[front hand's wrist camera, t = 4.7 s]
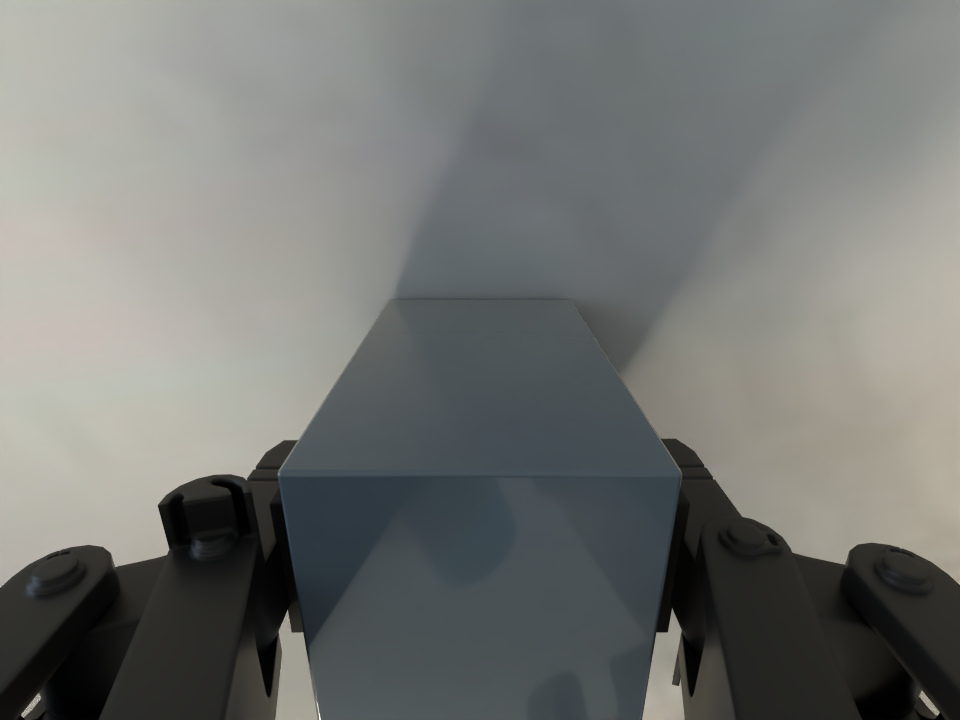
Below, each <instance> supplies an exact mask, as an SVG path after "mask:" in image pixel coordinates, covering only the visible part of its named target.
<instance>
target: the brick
mask: <svg viewBox="0 0 960 720" xmlns="http://www.w3.org/2000/svg"><path fill="white" fill-rule="evenodd" d="M681 480H682V472H681V470H680V468H679V467H678V465H677V464H676V462H675V460H674V459H673V457H672V456H671V454H670V453H669V451H668V450H667V448H666V446H665V445H664V443H663V442H662V440H661V439H660V437H659V436H658V434H657V433H656V431H655V429H654V428H653V426H652V425H651V423H650V422H649V420H648V419H647V417H646V415H645V414H644V412H643V411H642V409H641V408H640V406H639V405H638V403H637V402H636V400H635V398H634V397H633V395H632V394H631V392H630V391H629V389H628V388H627V386H626V384H625V383H624V381H623V380H622V378H621V377H620V375H619V374H618V372H617V370H616V369H615V367H614V366H613V364H612V363H611V361H610V360H609V358H608V357H607V355H606V353H605V352H604V350H603V349H602V347H601V346H600V344H599V343H598V341H597V339H596V338H595V336H594V335H593V333H592V332H591V330H590V329H589V327H588V325H587V324H586V322H585V321H584V319H583V318H582V316H581V315H580V313H579V312H578V310H577V308H576V307H575V305H574V304H573V302H572V301H571V300H569V299H390V300H389V301H388V302H387V304H386V305H385V307H384V308H383V310H382V311H381V313H380V314H379V316H378V318H377V319H376V321H375V322H374V324H373V325H372V327H371V328H370V330H369V332H368V333H367V335H366V336H365V338H364V339H363V341H362V342H361V344H360V345H359V347H358V349H357V350H356V352H355V353H354V355H353V356H352V358H351V359H350V361H349V362H348V364H347V366H346V367H345V369H344V370H343V372H342V373H341V375H340V376H339V378H338V380H337V381H336V383H335V384H334V386H333V387H332V389H331V390H330V392H329V393H328V395H327V397H326V398H325V400H324V401H323V403H322V404H321V406H320V407H319V409H318V410H317V412H316V414H315V415H314V417H313V418H312V420H311V421H310V423H309V424H308V426H307V428H306V429H305V431H304V432H303V434H302V435H301V437H300V438H299V440H298V441H297V443H296V445H295V446H294V448H293V449H292V451H291V452H290V454H289V455H288V457H287V458H286V460H285V462H284V463H283V465H282V466H281V468H280V469H279V471H278V481H279V487H280V493H281V499H282V505H283V511H284V518H285V524H286V530H287V536H288V542H289V548H290V554H291V560H292V566H293V572H294V578H295V584H296V590H297V596H298V602H299V608H300V614H301V620H302V626H303V632H304V638H305V644H306V650H307V657H308V663H309V669H310V675H311V681H312V687H313V693H314V699H315V705H316V711H317V717H318V720H642V716H643V710H644V704H645V697H646V691H647V685H648V679H649V673H650V667H651V661H652V655H653V649H654V643H655V637H656V631H657V625H658V619H659V613H660V607H661V601H662V595H663V589H664V583H665V576H666V570H667V564H668V558H669V552H670V546H671V540H672V534H673V528H674V522H675V516H676V510H677V504H678V498H679V492H680V486H681Z"/></svg>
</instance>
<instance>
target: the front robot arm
mask: <svg viewBox="0 0 960 720" xmlns="http://www.w3.org/2000/svg"><path fill="white" fill-rule="evenodd" d="M661 440H662V442H663V443H664V445H665V446H666V448H667V450H668V451H669V453H670V454H671V456H672V457H673V459H674V460H675V462H676V464H677V465H678V467H679V468H680V470H681V472H682V480H681V486H680V492H679V498H678V504H677V510H676V516H675V522H674V528H673V534H672V540H671V546H670V552H669V558H668V564H667V570H666V576H665V583H664V589H663V595H662V601H661V607H660V613H659V619H658V625H657V631H656V632H668V628H669V622H670V616H671V611H672V608H673V611H674V613H675V615H676V618H677V620H678V622H679V625H680V627H681V629H682V632H681V638H680V643H679V648H678V654H677V659H676V664H675V669H674V675H673V682H672V685H677V686H679V683H680V678H681V685H682V695H683V705H684V715H685V720H960V585H959V584H958V583H957V582H956V581H955V580H954V579H953V578H951V577H950V576H949V575H948V574H947V573H945V572H944V571H943V570H941V569H940V568H939V567H937V566H936V565H935V564H933V563H932V562H930V561H928V560H926V559H924V558H922V557H920V556H918V555H916V554H914V553H913V552H910V551H908V550H905V549H900V548H899V547H895V546H891V545H885V544H877V543H866V544H859V545H857V546H855V547H854V548H853V549H851V550H850V551H849V555H848V558H847V561H846V564H845V565H843V564H838V563H834V562H829V561H824V560H820V559H815V558H810V557H806V556H802V555H799V554H795V553H792V551H791V548H790V547H789V546H788V544H787V543H786V541H785V540H784V539H783V537H781V536H780V535H779V534H778V533H776V532H775V531H774V530H772V529H771V528H770V527H768V526H766V525H764V524H761V523H759V522H757V521H755V520H752V519H748V518H745V517H742V516H741V515H740V513H739V512H738V511H737V509H736V508H735V507H734V505H733V504H732V502H731V501H730V500H729V498H728V497H727V496H726V494H725V493H724V491H723V490H722V489H721V487H720V486H719V485H718V483H717V482H716V481H715V480H713V476H712V475H711V474H710V472H709V471H708V470H707V468H704V464H703V463H702V461H701V460H700V459H699V457H698V456H697V455H696V453H695V452H694V451H693V450H692V449H690V448H689V447H687V446H686V445H684V444H683V443H681V442H680V441H678V440H677V439H661ZM297 441H298V440H284V441H283V442H281V443H280V444H278V445H277V446H275V447H274V448H272V449H271V450H269V451H268V452H266V453H265V455H264V456H263V458H262V459H261V460H260V462H259V463H258V464H257V466H256V470H253V471H252V473H251V474H250V475H249V477H248V478H247V480H246V479H244V478H243V477H239V476H235V475H231V474H229V475H212V476H208V477H203V478H199V479H196V480H193V481H191V482H188V483H186V484H183V485H181V486H179V487H178V488H176V489H175V490H173V491H172V492H170V493H169V494H167V495H166V496H165V497H164V498H163V500H162V501H161V502H160V503H159V505H158V508H159V512H160V515H161V519H162V523H163V527H164V530H165V534H166V538H167V541H168V545H169V552H168V554H167V555H166V556H162V557H159V558H155V559H150V560H146V561H141V562H137V563H132V564H127V565H123V566H118V567H115V565H114V562H113V559H112V556H111V553H110V552H108V551H107V550H106V549H105V548H103V547H99V546H92V545H85V546H78V547H70V548H67V549H63V550H61V551H57V552H54V553H51V554H49V555H47V556H45V557H43V558H41V559H39V560H37V561H35V562H33V563H31V564H29V565H28V566H26V567H25V568H24V569H22V570H21V571H20V572H18V573H17V574H16V575H14V576H13V577H12V578H11V579H10V580H8V581H7V582H6V583H5V584H4V585H3V586H2V587H1V588H0V720H275V716H276V706H277V696H278V687H279V677H280V667H281V657H282V650H281V643H280V638H279V632H278V631H279V629H280V626H281V624H282V622H283V619H284V617H285V615H286V612H287V610H288V613H289V618H290V624H291V630H292V632H303V626H302V620H301V614H300V608H299V602H298V596H297V590H296V584H295V578H294V572H293V566H292V560H291V554H290V548H289V542H288V536H287V530H286V524H285V518H284V511H283V505H282V499H281V493H280V487H279V481H278V471H279V469H280V468H281V466H282V465H283V463H284V462H285V460H286V458H287V457H288V455H289V454H290V452H291V451H292V449H293V448H294V446H295V445H296V443H297ZM921 691H923V692H924V693H925V694H926V696H927V697H928V698H929V699H930V700H931V702H932V703H933V704H934V705H935V707H936V708H937V709H938V710H939V712H940V713H939V715H938V716H936V715H935V714H934V713H933V712H932V711H931V710H930V709H929V708H928V707H927V706H926V705H925V703H924V702H923V701H922V700H921V698H920V697H919V695H920V693H921ZM38 693H39V694H40V696H41V700H40V701H39V702H38V703H37V705H36V706H35V707H34V708H33V710H32V711H31V712H29V713H28V714H27V715H26V716H25V717H24V718H23V717H21V714H22V713H23V711H24V710H25V709H26V708H27V706H28V705H29V704H30V703H31V701H32V700H33V699H34V698H35V696H36V695H37V694H38Z"/></svg>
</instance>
